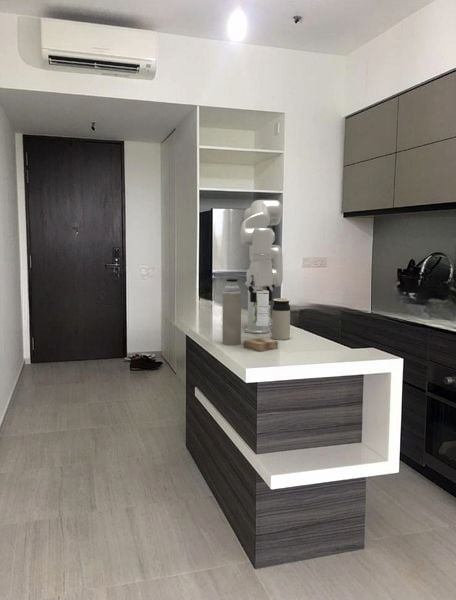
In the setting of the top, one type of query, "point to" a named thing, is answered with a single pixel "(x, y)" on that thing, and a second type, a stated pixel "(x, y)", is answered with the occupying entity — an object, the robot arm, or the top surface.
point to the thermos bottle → (231, 313)
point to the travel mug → (281, 319)
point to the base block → (260, 344)
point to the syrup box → (261, 308)
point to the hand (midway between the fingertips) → (261, 301)
